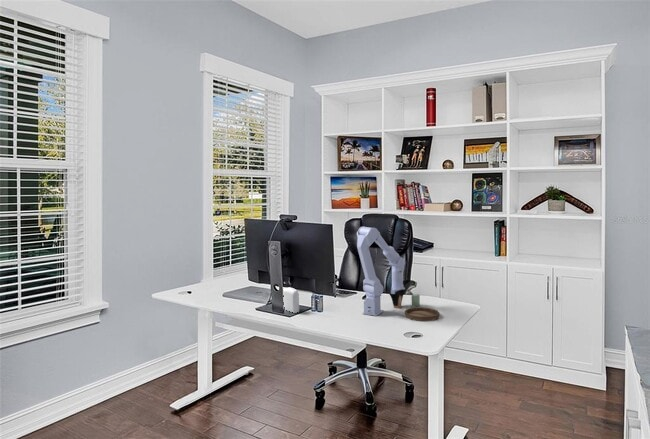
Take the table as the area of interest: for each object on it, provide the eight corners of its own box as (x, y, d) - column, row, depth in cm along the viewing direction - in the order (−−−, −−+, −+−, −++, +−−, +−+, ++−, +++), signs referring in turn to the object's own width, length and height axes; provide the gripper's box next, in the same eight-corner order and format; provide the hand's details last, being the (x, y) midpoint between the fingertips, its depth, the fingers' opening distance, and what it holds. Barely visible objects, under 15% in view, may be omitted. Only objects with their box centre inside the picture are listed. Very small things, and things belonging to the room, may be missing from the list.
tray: (434, 322, 216) (434, 318, 216) (400, 318, 224) (400, 314, 224) (442, 313, 230) (442, 309, 230) (410, 309, 238) (410, 306, 238)
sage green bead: (418, 307, 242) (418, 296, 242) (410, 306, 244) (410, 295, 244) (420, 305, 246) (420, 294, 245) (412, 304, 248) (412, 293, 247)
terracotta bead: (400, 308, 241) (399, 297, 240) (392, 307, 242) (392, 296, 242) (402, 306, 244) (402, 295, 244) (395, 305, 246) (394, 294, 246)
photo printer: (282, 309, 243) (281, 286, 242) (289, 308, 246) (288, 285, 245) (293, 314, 235) (293, 290, 234) (300, 312, 238) (299, 288, 237)
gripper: (400, 282, 234) (400, 308, 235) (408, 276, 247) (409, 301, 248) (387, 281, 237) (387, 307, 238) (396, 275, 250) (396, 300, 251)
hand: (397, 304), depth 243 cm, fingers open, 6 cm apart
